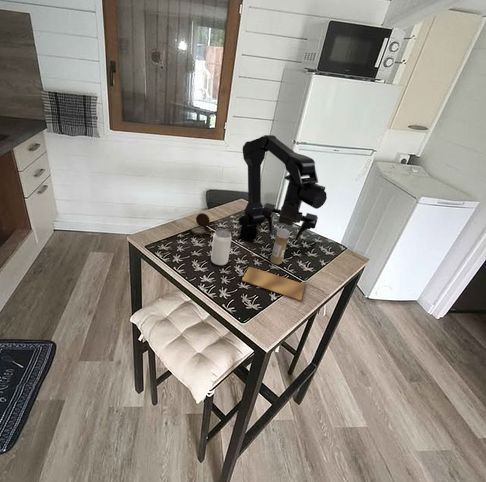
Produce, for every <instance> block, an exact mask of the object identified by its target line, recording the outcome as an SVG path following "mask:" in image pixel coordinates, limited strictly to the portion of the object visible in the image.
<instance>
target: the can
mask: <svg viewBox="0 0 486 482" xmlns="http://www.w3.org/2000/svg"><path fill="white" fill-rule="evenodd" d="M232 238H233V237H232V232H231V231H230V230H228V229H227V228H217V229H216V230H215V231H214V233H213V238H212V245H211V255H210V261H211V262H212V264H214V265H216V266H225V265H227V264H228V263H229V259H230V251H231V246H232Z"/></svg>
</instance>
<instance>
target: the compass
mask: <svg viewBox="0 0 486 482" xmlns="http://www.w3.org/2000/svg"><path fill="white" fill-rule="evenodd" d="M195 221H196V224H197V225H198V226H194V227H192V228H191V231H190V232H191V233H192V234H193V235H196V236H203V235H205V234H206V235H208V234H210V232H207V230H206V229H205V227H207V226H209V225H210V217H209V215H208V214H206V213H205V212H200V213H199V214H197V215H196V217H195Z"/></svg>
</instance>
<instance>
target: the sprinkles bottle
mask: <svg viewBox="0 0 486 482" xmlns="http://www.w3.org/2000/svg"><path fill="white" fill-rule="evenodd" d="M290 236H291V231H290V230H289V229H287V228H283V227H282V228H278V229H277V231H276V236H275V240H274V242H273V247H272V251H271V256H270V258H269V261H270V262H271V263H272V264H274V265H281V264H282V263H283V258H284V256H285V252H286V248H287V243H288V240H289V238H290Z"/></svg>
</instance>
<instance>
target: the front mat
mask: <svg viewBox="0 0 486 482" xmlns="http://www.w3.org/2000/svg"><path fill="white" fill-rule="evenodd" d="M241 282H244V283H247V284H250V285H253V286H256V287H258V288H261V289H264V290H267V291H270V292H273V293H276V294H279V295H281V296H285V297H288V298H290V299H293V300H297V301H299V302H301V301H302V299H303V295H304V294H303V293H304V290H305V286H306V284H305V283H302V282H300V281H297V280H292V279H289V278H288V277H283V276H281V275H277V274H274V273H272V272H268V271H265V270H262V269H259V268H256V267H253V266H248V268H247V269H246V272H245V273H244V275H243V277H242V279H241Z"/></svg>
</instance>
